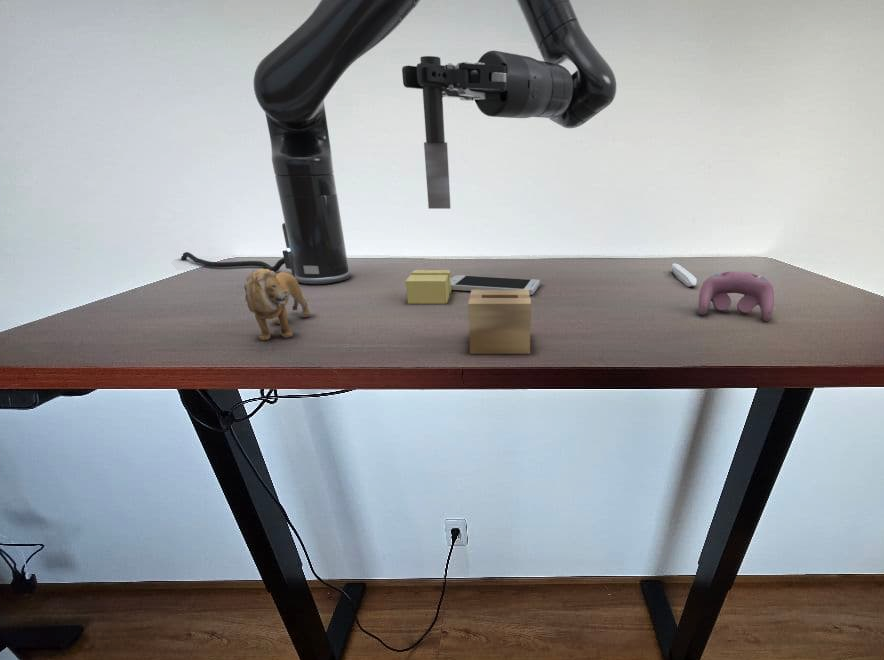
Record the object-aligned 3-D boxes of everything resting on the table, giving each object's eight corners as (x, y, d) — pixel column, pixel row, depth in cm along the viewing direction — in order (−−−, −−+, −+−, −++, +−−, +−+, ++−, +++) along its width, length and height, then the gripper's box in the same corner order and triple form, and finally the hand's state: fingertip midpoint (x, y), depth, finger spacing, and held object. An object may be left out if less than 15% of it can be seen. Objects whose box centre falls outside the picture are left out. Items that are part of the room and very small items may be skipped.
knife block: (470, 353, 56) (468, 303, 53) (473, 336, 61) (471, 289, 58) (529, 353, 56) (531, 303, 53) (527, 336, 61) (528, 289, 58)
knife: (427, 209, 65) (416, 55, 57) (430, 207, 67) (419, 59, 59) (449, 209, 65) (441, 56, 57) (451, 207, 67) (443, 59, 59)
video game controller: (766, 325, 70) (774, 277, 69) (773, 320, 65) (782, 269, 65) (694, 318, 72) (702, 272, 72) (697, 313, 68) (705, 264, 68)
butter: (407, 303, 74) (405, 281, 72) (415, 291, 80) (413, 270, 79) (446, 303, 74) (445, 281, 72) (451, 291, 81) (450, 270, 79)
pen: (675, 270, 94) (677, 261, 94) (698, 289, 82) (699, 279, 81) (667, 270, 94) (668, 261, 94) (688, 288, 82) (690, 279, 81)
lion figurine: (298, 347, 58) (282, 271, 53) (250, 350, 57) (230, 274, 52) (313, 311, 70) (301, 248, 66) (274, 313, 69) (259, 249, 65)
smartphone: (456, 279, 87) (455, 274, 87) (539, 284, 84) (540, 279, 84) (442, 289, 81) (442, 283, 80) (532, 295, 78) (532, 289, 77)
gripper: (479, 60, 70) (376, 43, 60) (551, 48, 62) (445, 26, 51) (480, 119, 74) (383, 114, 63) (549, 115, 65) (449, 109, 55)
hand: (412, 75), depth 57 cm, fingers closed on knife, 2 cm apart
